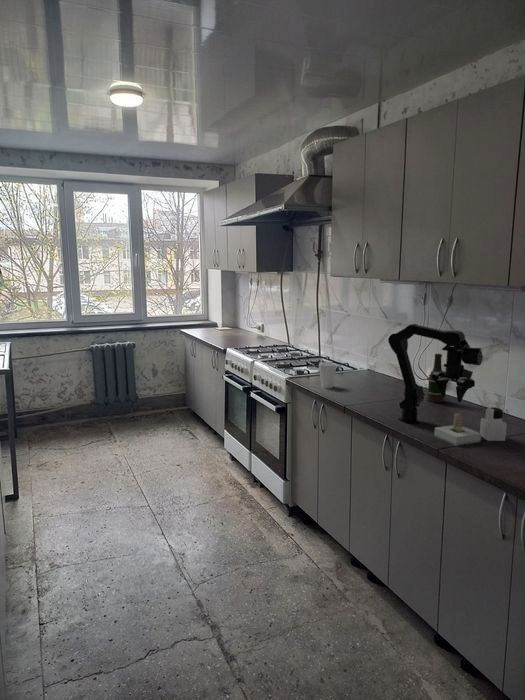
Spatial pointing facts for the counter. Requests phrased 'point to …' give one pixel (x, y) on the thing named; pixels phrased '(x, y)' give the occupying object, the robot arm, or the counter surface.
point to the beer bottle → (433, 389)
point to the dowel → (458, 423)
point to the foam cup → (327, 374)
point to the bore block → (457, 435)
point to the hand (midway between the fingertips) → (451, 399)
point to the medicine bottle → (493, 425)
